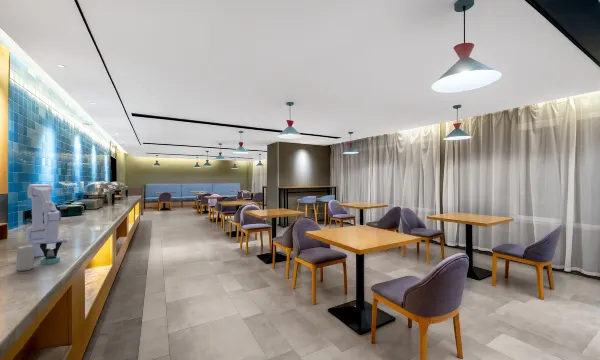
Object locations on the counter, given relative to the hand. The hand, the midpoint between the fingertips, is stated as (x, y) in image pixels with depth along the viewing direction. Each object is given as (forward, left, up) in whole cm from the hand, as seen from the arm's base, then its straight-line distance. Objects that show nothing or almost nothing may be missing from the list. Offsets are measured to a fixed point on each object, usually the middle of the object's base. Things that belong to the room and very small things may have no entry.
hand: (50, 256), depth 151 cm
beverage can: (+9, -9, -4) cm, 13 cm away
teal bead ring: (0, 0, -3) cm, 3 cm away
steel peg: (0, 0, -2) cm, 2 cm away
